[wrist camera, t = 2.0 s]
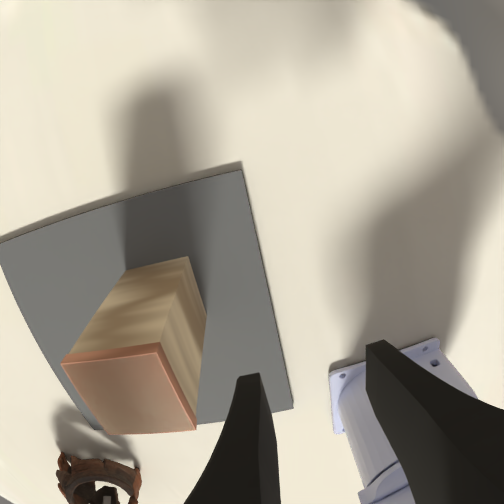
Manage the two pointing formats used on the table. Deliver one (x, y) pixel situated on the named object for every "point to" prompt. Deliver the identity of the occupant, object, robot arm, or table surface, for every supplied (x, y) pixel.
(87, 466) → the brown curved piece
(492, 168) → the table surface
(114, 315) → the maple block
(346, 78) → the table surface
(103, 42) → the table surface
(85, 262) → the charcoal mat
